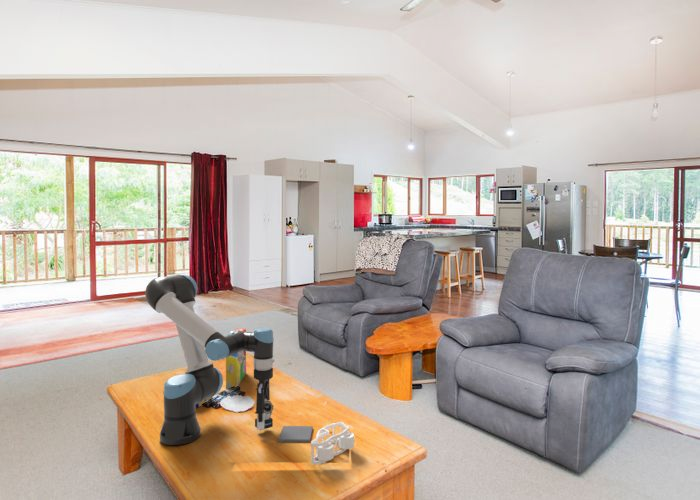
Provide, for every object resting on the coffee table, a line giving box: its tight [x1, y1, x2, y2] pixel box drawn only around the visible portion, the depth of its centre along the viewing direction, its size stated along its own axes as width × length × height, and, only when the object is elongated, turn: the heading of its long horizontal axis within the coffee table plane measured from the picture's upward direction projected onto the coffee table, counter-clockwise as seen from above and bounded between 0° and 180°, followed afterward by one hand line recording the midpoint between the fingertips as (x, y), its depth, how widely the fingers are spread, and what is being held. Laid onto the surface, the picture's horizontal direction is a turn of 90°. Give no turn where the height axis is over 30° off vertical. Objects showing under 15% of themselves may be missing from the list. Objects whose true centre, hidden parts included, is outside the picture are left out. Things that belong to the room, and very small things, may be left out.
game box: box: [225, 328, 247, 389], centre depth 241 cm, size 21×6×27 cm, turn 179°
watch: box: [254, 398, 275, 430], centre depth 183 cm, size 6×8×11 cm
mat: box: [277, 425, 314, 443], centre depth 180 cm, size 12×12×1 cm
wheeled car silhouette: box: [310, 421, 355, 465], centre depth 166 cm, size 20×11×7 cm, turn 139°
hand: (262, 424), depth 183 cm, fingers closed on watch, 8 cm apart
